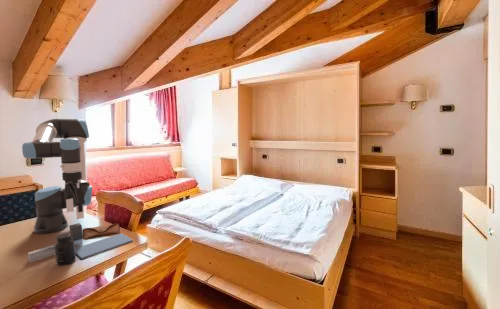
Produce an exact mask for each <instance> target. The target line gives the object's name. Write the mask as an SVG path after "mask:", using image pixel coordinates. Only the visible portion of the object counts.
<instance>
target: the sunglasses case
mask: <svg viewBox="0 0 500 309" xmlns="http://www.w3.org/2000/svg"><path fill="white" fill-rule="evenodd" d="M120 226H121V225H120V223H113V224H107V225H106V224H105V225H99V226H94V227H86V228H84V229H83V228H82V238H83V239H82V240H83V241H85V240H90V239H95V238H99V237H100V236H101V237H106V236H110V234H111V235H118V234H121V229H120ZM105 235H106V236H105Z"/></svg>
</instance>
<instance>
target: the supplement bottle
mask: <svg viewBox="0 0 500 309" xmlns="http://www.w3.org/2000/svg"><path fill="white" fill-rule="evenodd" d="M54 245H55V254H56V255H55V261H56V264H57V266H61V267H62V266H67V265H70V264H72V263H74V262H75V260H76V258H77V257H76V254H75V247H74V241H73V240H72V239H71V235H70V233H62V234H59V235H57V237H56V243H55V244H54Z"/></svg>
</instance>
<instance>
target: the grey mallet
mask: <svg viewBox="0 0 500 309" xmlns="http://www.w3.org/2000/svg"><path fill="white" fill-rule="evenodd" d="M68 227H69V234H70V235H71V239H72V240H73V241H74V247H75V248H77V247H80V246H84V244H83V240H84V239H83V226H82V224H81V223H80V222H78V223H75V224H74V223H73V224H71V225H69V226H68ZM52 255H53V256H56V255H55V244H51V245H49V246H45V247H43V248H39V249H34V250H33V251H29V252H27V256H28V262H29V263H34V262H37V261H40V260H43V259H46V257H47V258H49V256H50V257H52Z"/></svg>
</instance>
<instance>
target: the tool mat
mask: <svg viewBox="0 0 500 309" xmlns="http://www.w3.org/2000/svg"><path fill="white" fill-rule="evenodd" d="M133 241H134V240H133V239H132V238H131V237H129V236H128V235H126V234H124V233H122V232H120V233H118V234H114V235H111V236H108V237H105V238H102V239H99V240H95V241H92V242H90V243H88V244H85V245H84V244H83V246H80V247H77V248H75V256H78V258H79V259H80V260H84V259H87V258H89V257H93V256H96V255H98V254H101V253H105V252H107V251H110V250H113V249H115V248H118V247H121V246H123V245H126V244H129V243H133Z"/></svg>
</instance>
